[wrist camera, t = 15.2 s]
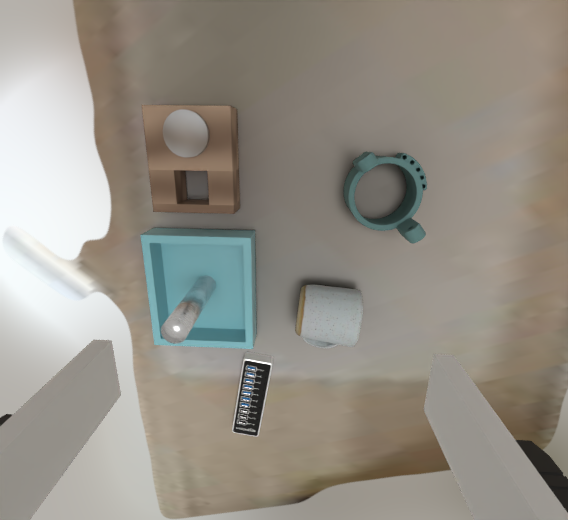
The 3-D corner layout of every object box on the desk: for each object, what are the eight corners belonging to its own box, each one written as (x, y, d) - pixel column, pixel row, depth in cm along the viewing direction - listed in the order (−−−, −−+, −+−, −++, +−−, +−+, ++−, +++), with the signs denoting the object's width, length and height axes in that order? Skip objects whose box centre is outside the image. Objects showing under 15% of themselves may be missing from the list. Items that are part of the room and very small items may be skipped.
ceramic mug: (300, 274, 47) (299, 299, 40) (358, 280, 47) (368, 306, 40) (292, 339, 51) (290, 372, 44) (346, 345, 51) (353, 379, 44)
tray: (153, 227, 46) (140, 234, 43) (255, 230, 46) (250, 237, 42) (165, 330, 51) (154, 344, 48) (256, 333, 51) (252, 348, 47)
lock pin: (195, 275, 48) (159, 319, 35) (215, 275, 47) (185, 320, 35) (197, 293, 48) (162, 343, 36) (216, 294, 48) (187, 344, 36)
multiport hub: (274, 354, 52) (272, 364, 50) (259, 426, 57) (258, 437, 55) (246, 349, 52) (243, 358, 50) (234, 421, 57) (231, 432, 55)
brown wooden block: (156, 108, 41) (137, 103, 37) (237, 109, 41) (228, 104, 36) (165, 206, 45) (150, 213, 41) (239, 207, 45) (232, 215, 40)
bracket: (399, 228, 45) (422, 247, 36) (332, 212, 44) (340, 227, 36) (423, 159, 42) (455, 162, 33) (352, 142, 42) (365, 140, 33)
